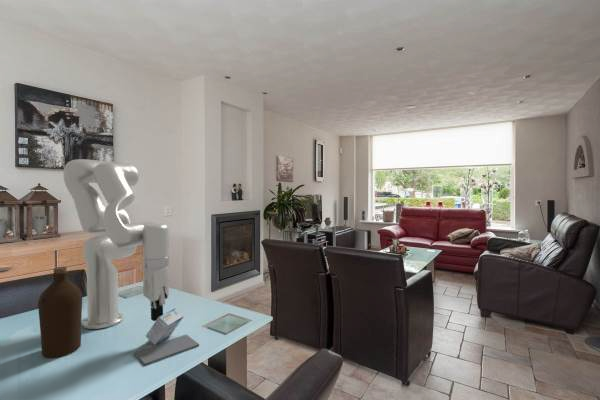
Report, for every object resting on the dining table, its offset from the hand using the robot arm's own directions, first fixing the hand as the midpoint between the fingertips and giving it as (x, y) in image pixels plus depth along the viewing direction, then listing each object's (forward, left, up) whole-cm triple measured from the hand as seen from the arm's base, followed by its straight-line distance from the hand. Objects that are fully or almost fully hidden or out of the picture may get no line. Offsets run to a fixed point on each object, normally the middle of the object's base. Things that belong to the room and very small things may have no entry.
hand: (157, 319), depth 103 cm
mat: (+8, 0, -7) cm, 11 cm away
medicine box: (0, 0, -6) cm, 6 cm away
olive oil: (-13, -23, -7) cm, 27 cm away
